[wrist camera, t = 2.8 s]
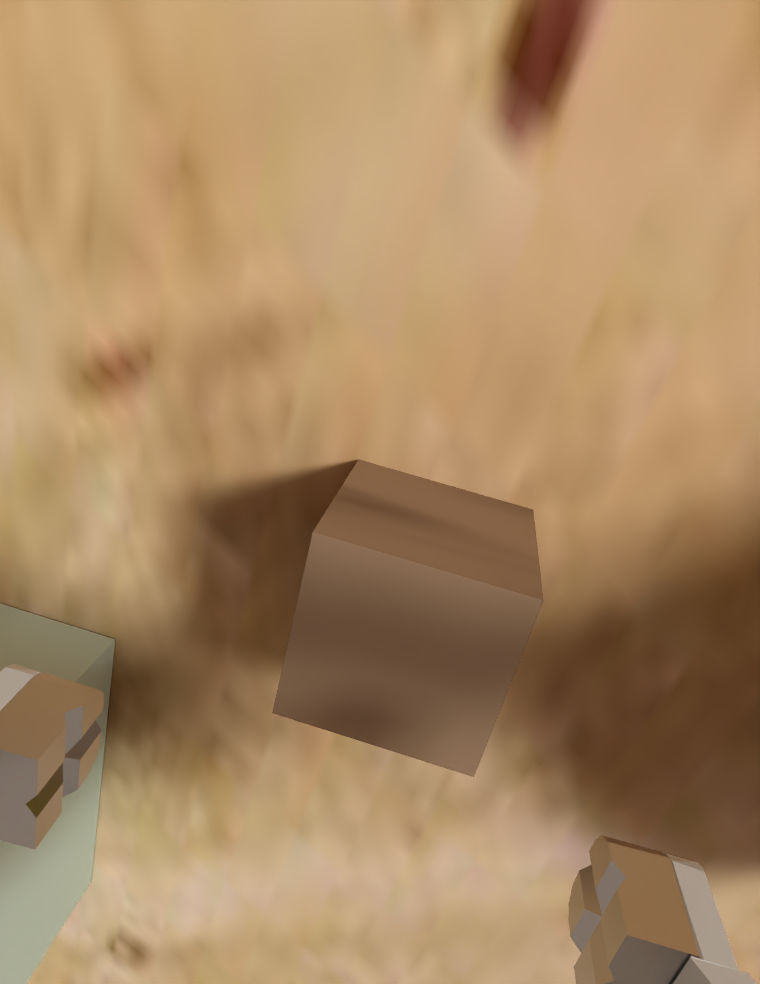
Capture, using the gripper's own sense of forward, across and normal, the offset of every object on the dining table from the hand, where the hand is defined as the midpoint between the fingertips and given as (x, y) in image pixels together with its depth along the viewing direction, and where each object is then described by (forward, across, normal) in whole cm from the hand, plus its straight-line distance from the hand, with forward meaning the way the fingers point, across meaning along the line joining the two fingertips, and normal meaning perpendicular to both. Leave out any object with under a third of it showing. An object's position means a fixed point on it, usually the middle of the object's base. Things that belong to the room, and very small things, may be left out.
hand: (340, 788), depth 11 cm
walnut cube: (+9, -1, +1) cm, 9 cm away
